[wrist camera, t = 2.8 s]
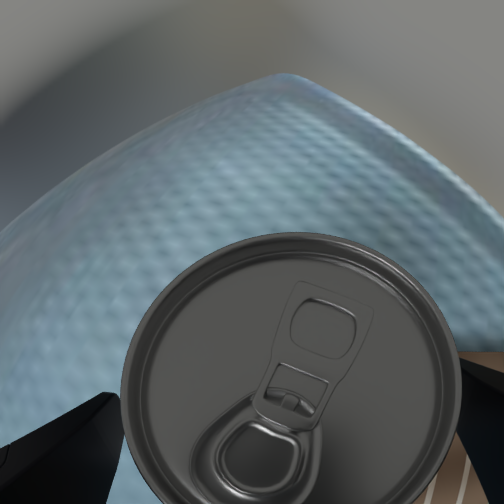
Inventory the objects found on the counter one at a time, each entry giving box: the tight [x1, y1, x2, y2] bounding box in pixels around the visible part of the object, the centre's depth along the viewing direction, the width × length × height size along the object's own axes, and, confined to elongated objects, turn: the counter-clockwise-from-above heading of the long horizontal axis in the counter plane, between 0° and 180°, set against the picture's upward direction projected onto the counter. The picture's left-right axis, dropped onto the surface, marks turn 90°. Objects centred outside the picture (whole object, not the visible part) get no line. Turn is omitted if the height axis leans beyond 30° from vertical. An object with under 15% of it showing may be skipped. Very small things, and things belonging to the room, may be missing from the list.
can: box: [120, 232, 462, 504], centre depth 9 cm, size 6×6×12 cm
